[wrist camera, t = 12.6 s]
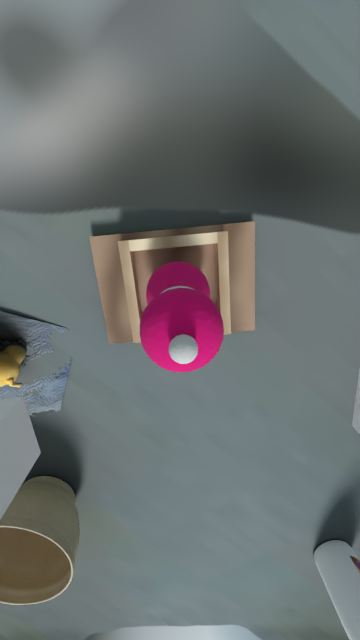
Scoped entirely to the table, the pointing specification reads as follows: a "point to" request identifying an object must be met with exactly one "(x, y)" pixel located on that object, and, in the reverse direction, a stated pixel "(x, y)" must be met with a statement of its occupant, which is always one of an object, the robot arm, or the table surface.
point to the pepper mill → (180, 319)
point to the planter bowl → (38, 542)
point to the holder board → (176, 246)
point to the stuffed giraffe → (5, 361)
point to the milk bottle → (341, 582)
